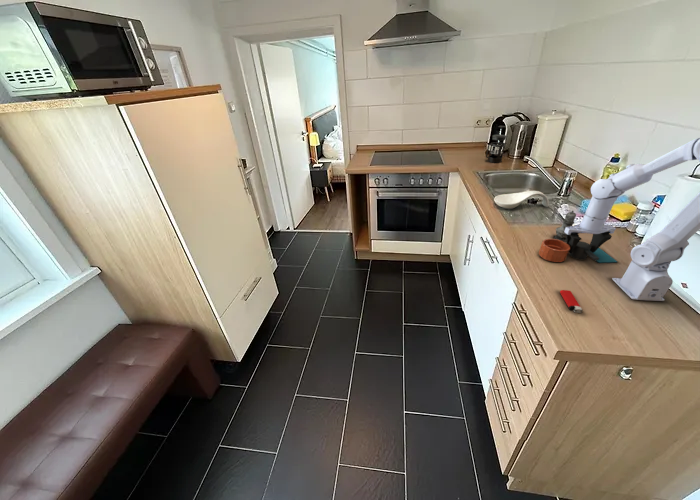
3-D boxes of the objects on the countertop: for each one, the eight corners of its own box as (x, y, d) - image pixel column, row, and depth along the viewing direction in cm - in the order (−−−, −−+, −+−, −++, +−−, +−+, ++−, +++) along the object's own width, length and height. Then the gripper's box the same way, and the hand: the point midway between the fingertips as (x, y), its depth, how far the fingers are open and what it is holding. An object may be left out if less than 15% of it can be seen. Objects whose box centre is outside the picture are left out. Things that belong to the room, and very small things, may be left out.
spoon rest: (497, 211, 133) (501, 197, 129) (489, 201, 143) (492, 188, 139) (551, 210, 130) (557, 196, 127) (539, 200, 140) (543, 186, 137)
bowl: (569, 263, 96) (575, 251, 94) (543, 262, 98) (548, 250, 95) (558, 250, 103) (563, 239, 100) (534, 250, 104) (538, 238, 102)
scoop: (566, 252, 102) (571, 241, 100) (580, 252, 102) (585, 240, 99) (584, 268, 94) (590, 256, 91) (599, 268, 94) (605, 256, 91)
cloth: (598, 263, 96) (598, 262, 96) (581, 248, 103) (581, 247, 103) (617, 262, 96) (617, 261, 95) (598, 248, 103) (598, 247, 103)
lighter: (571, 290, 83) (583, 310, 77) (570, 294, 84) (582, 313, 77) (560, 289, 84) (571, 308, 77) (559, 293, 85) (570, 312, 78)
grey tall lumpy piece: (554, 233, 113) (564, 205, 107) (572, 237, 110) (583, 209, 104) (551, 239, 110) (562, 211, 103) (569, 244, 106) (582, 215, 100)
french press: (498, 159, 204) (506, 124, 192) (505, 162, 196) (513, 126, 184) (482, 160, 204) (488, 125, 192) (488, 163, 196) (495, 127, 184)
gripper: (610, 209, 95) (594, 244, 102) (564, 211, 95) (551, 245, 103) (627, 218, 89) (608, 255, 96) (578, 220, 89) (563, 256, 97)
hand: (580, 251), depth 99 cm, fingers open, 7 cm apart
